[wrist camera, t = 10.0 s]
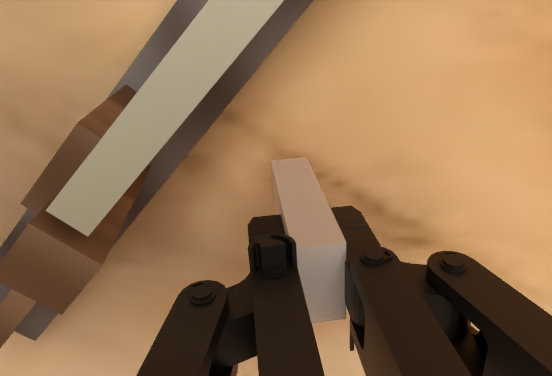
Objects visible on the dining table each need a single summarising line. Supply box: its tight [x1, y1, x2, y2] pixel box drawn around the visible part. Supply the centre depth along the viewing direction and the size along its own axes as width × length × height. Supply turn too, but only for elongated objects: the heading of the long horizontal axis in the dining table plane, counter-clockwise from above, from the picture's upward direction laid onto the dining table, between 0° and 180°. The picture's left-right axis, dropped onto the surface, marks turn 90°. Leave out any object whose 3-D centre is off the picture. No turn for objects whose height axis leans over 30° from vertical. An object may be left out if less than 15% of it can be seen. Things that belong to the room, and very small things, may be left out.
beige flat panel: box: [46, 0, 284, 236], centre depth 14 cm, size 14×1×8 cm, turn 138°
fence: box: [0, 0, 313, 348], centre depth 15 cm, size 38×4×9 cm, turn 139°
